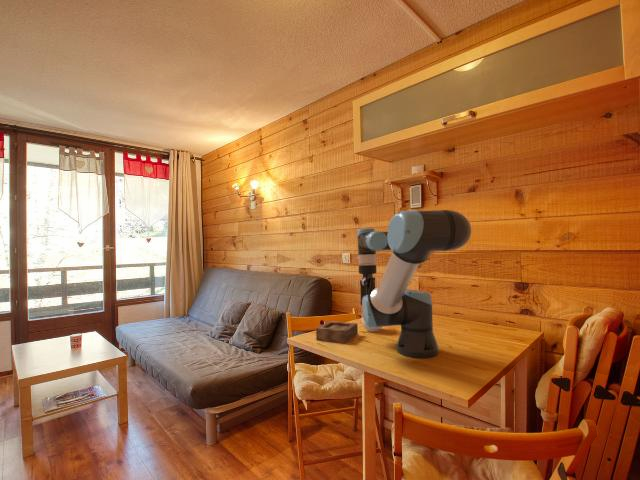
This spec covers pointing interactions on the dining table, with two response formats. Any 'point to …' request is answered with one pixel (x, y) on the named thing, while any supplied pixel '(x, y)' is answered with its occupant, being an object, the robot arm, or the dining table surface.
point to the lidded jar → (369, 329)
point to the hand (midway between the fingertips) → (369, 318)
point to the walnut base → (337, 332)
